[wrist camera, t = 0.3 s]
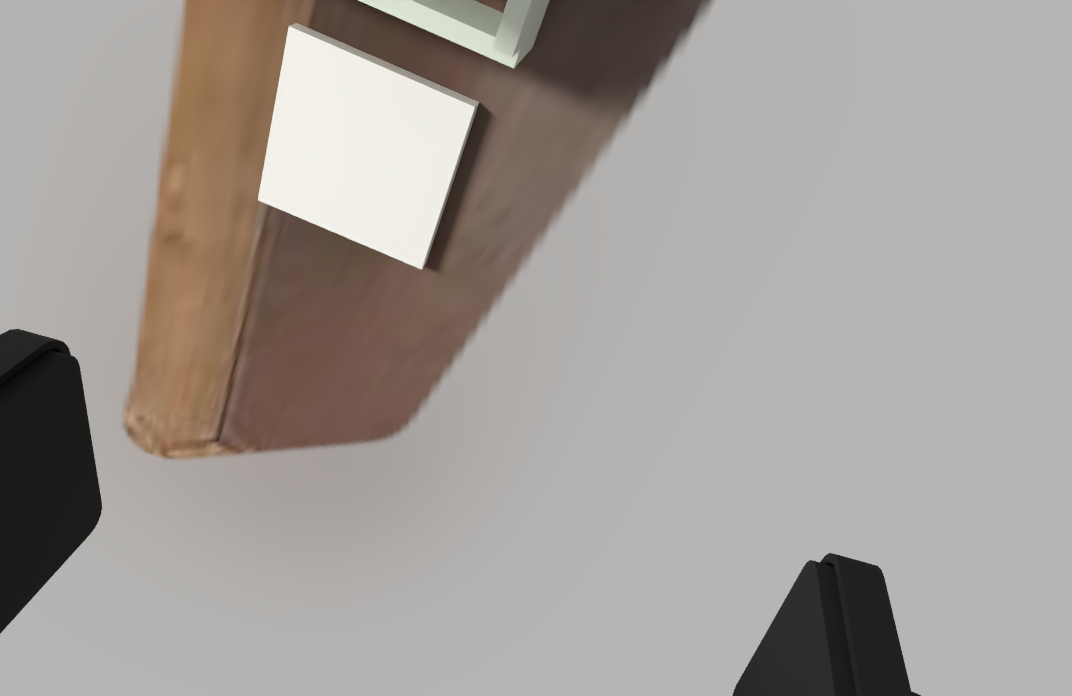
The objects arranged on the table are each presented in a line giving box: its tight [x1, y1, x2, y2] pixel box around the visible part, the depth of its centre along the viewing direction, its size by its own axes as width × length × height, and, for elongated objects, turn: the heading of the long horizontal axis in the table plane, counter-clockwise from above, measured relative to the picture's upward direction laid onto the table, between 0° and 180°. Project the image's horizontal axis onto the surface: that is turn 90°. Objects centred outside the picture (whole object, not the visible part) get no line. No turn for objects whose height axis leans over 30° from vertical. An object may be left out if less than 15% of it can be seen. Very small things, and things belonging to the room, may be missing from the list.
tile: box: [258, 23, 479, 269], centre depth 47 cm, size 11×11×1 cm
